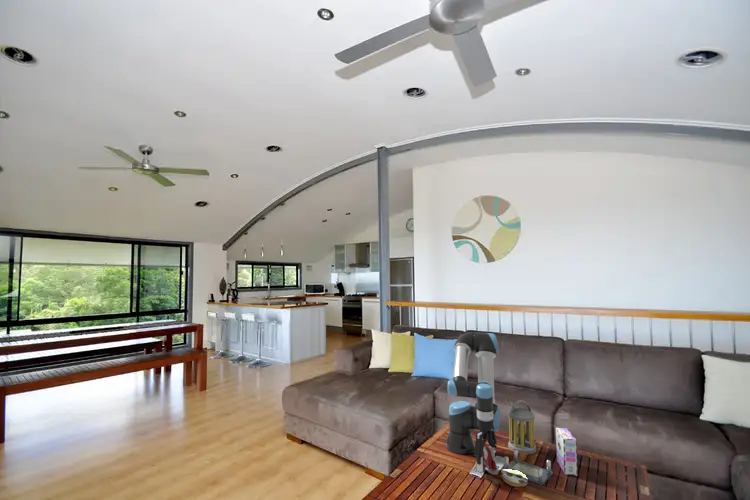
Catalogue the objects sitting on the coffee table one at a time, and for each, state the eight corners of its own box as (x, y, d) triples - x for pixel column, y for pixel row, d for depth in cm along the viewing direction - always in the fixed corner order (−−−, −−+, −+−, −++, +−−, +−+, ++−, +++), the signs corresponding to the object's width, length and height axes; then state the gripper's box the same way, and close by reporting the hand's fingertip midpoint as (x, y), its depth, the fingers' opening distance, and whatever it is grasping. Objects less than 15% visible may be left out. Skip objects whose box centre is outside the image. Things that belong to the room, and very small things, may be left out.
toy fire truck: (488, 459, 180) (488, 438, 181) (498, 474, 168) (497, 450, 168) (474, 460, 180) (474, 438, 181) (482, 474, 168) (482, 451, 168)
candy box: (578, 476, 170) (576, 439, 171) (564, 475, 171) (563, 438, 172) (568, 461, 184) (567, 427, 185) (556, 460, 185) (554, 426, 186)
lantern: (527, 441, 206) (525, 395, 208) (541, 453, 192) (540, 404, 194) (503, 442, 204) (502, 396, 206) (516, 455, 190) (515, 405, 192)
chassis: (503, 470, 175) (503, 457, 175) (514, 460, 184) (514, 448, 185) (542, 485, 163) (542, 471, 163) (552, 474, 172) (552, 460, 172)
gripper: (480, 428, 164) (481, 479, 163) (503, 413, 181) (504, 459, 180) (465, 423, 169) (466, 472, 168) (489, 409, 186) (490, 453, 185)
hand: (485, 465), depth 174 cm, fingers closed on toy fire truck, 11 cm apart
